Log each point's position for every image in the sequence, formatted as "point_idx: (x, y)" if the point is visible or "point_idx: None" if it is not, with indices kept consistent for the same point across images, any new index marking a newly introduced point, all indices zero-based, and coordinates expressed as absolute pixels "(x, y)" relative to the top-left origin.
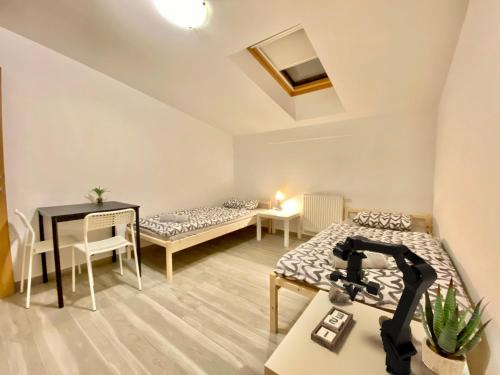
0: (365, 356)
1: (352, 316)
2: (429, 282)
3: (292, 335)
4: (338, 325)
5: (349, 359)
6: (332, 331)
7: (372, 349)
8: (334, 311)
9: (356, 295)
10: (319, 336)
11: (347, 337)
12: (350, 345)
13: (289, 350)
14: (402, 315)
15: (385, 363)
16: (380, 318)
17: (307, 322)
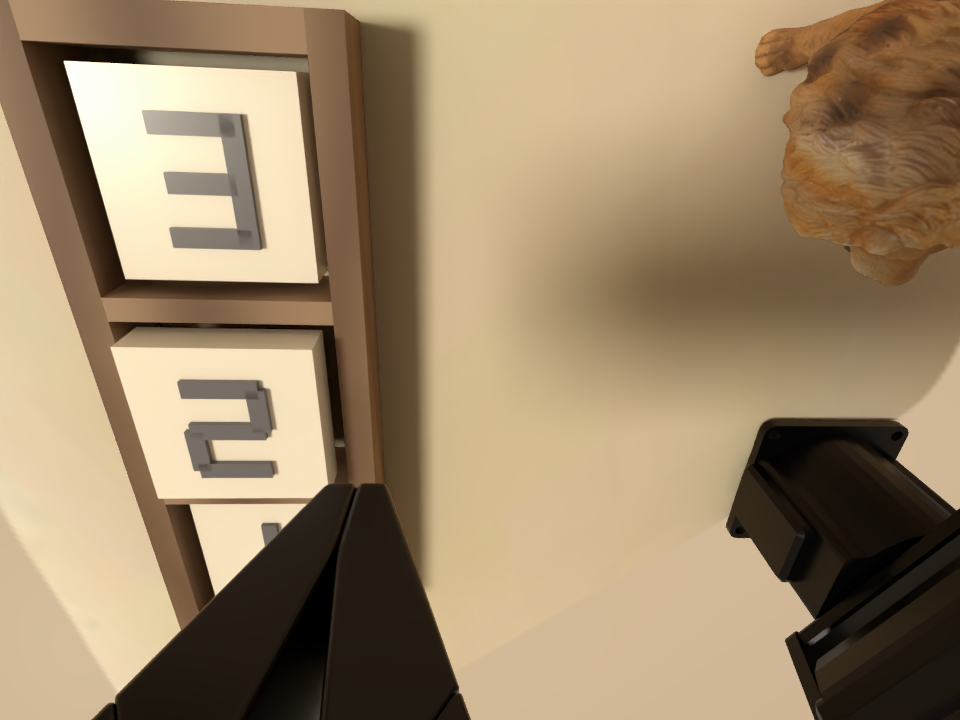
0: (594, 495)
1: (350, 42)
2: None
3: (89, 632)
4: (314, 462)
5: (502, 575)
6: None
7: (639, 398)
8: (86, 121)
9: (440, 655)
10: None
11: (422, 399)
12: (473, 467)
13: None
14: None
15: (737, 517)
16: (877, 252)
17: (30, 454)
